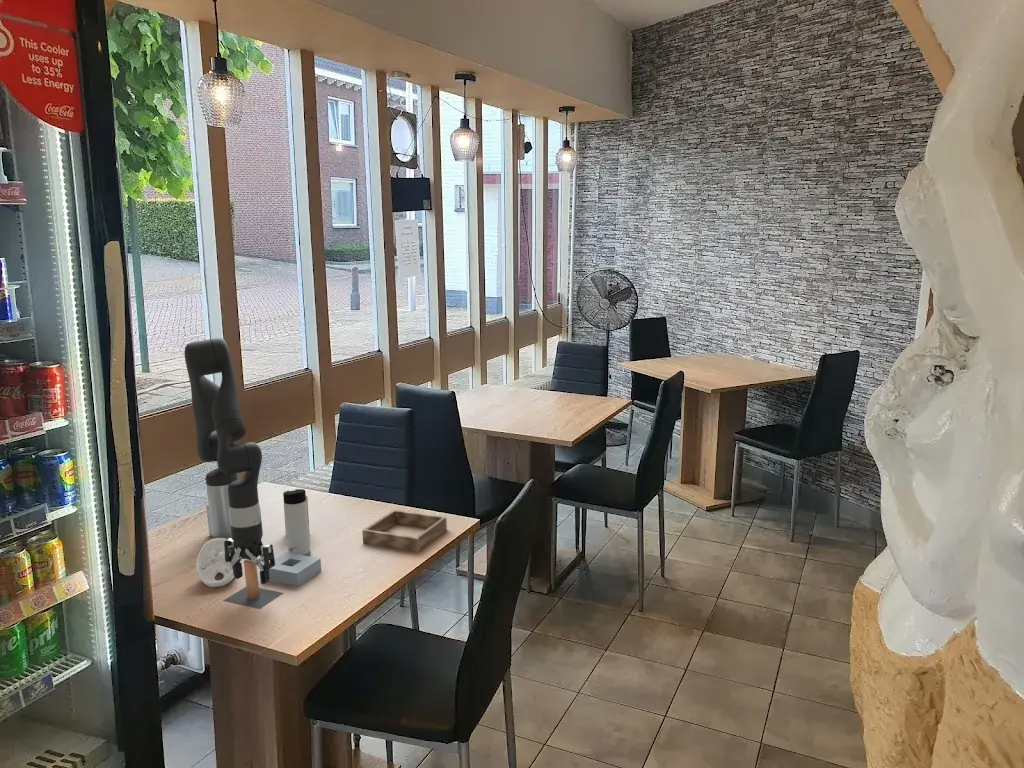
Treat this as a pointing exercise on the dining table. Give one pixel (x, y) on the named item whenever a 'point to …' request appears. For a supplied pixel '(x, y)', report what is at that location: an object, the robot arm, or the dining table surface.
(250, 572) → the peg
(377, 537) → the square wooden frame
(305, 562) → the block
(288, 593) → the dining table surface
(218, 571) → the skull bowl
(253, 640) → the dining table surface
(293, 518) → the travel mug
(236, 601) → the mat
